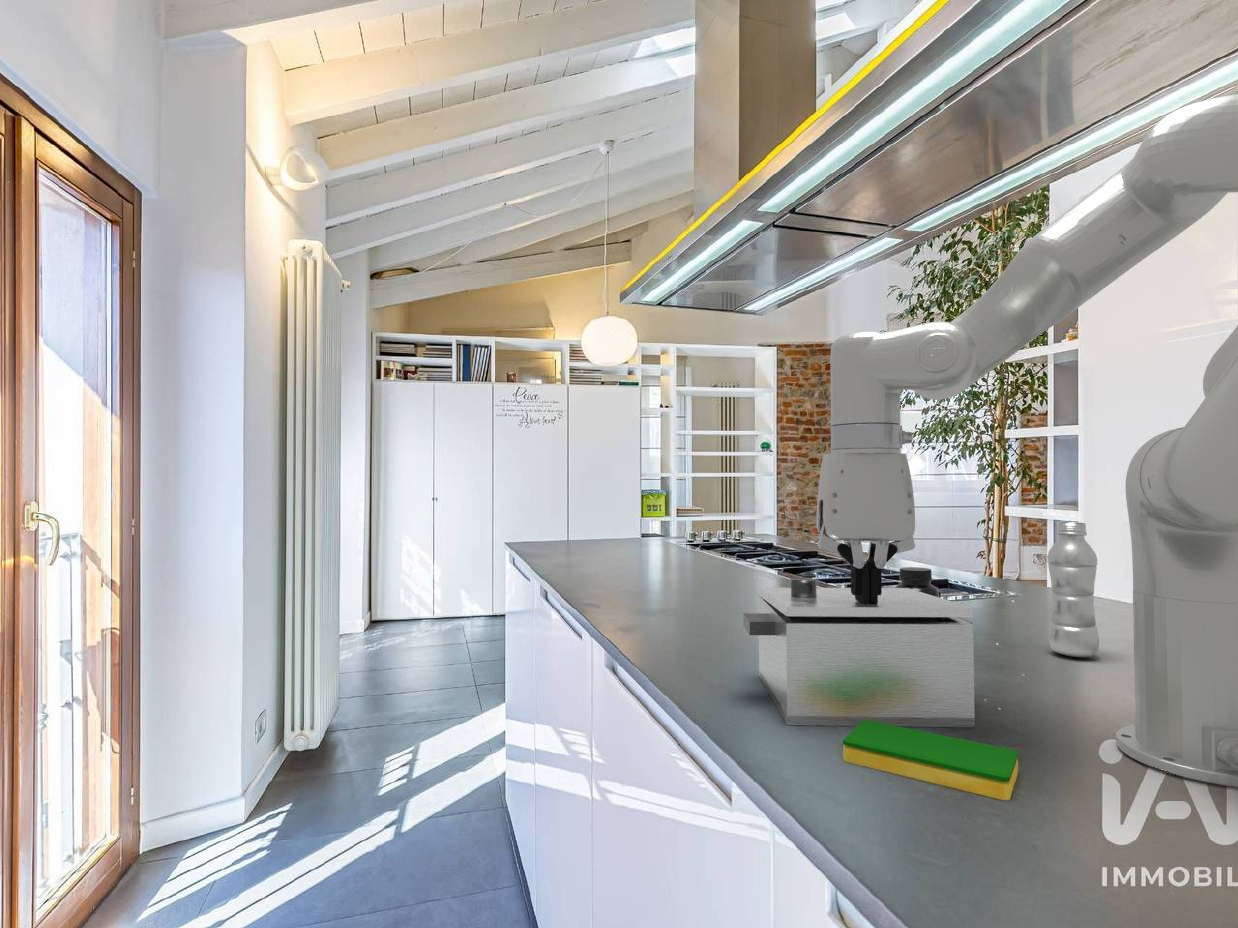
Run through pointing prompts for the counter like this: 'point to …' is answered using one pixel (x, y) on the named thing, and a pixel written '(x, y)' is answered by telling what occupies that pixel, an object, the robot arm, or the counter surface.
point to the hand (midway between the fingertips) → (866, 601)
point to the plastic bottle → (1072, 592)
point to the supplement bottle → (917, 580)
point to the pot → (866, 668)
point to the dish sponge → (933, 758)
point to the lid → (843, 604)
